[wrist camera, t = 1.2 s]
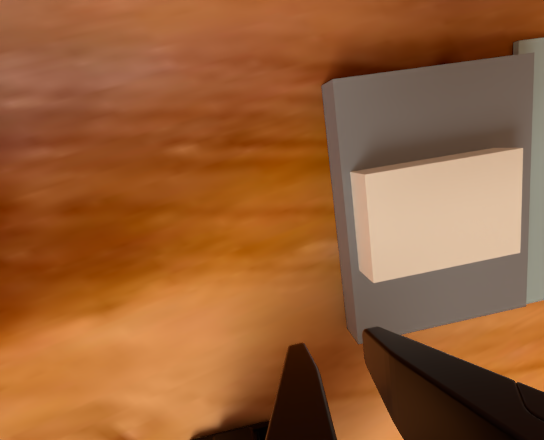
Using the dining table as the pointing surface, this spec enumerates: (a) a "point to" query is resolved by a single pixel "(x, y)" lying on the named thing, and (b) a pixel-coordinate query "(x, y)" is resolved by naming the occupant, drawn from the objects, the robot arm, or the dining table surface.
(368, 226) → the tile
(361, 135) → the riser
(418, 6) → the dining table surface
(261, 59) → the dining table surface
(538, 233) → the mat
